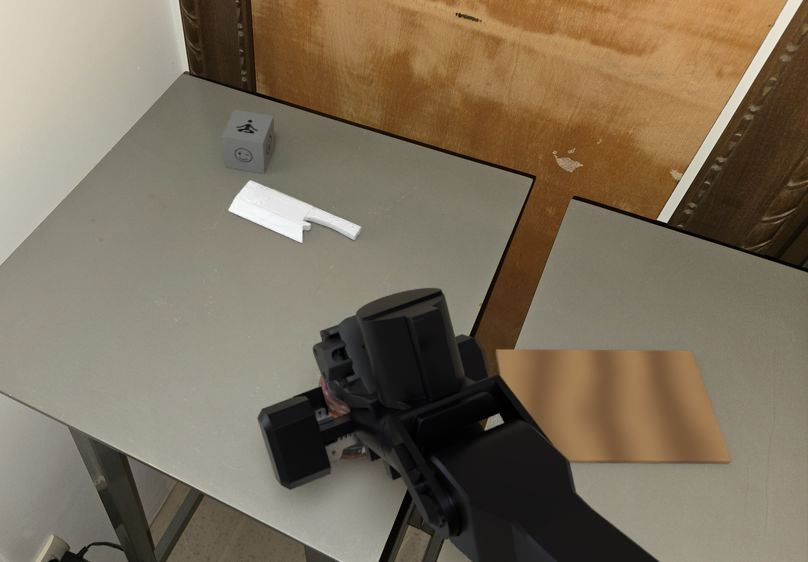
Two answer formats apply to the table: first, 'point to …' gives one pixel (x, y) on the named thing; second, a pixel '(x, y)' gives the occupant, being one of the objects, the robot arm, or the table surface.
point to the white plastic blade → (285, 212)
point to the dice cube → (248, 141)
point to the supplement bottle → (340, 413)
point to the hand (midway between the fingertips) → (345, 385)
